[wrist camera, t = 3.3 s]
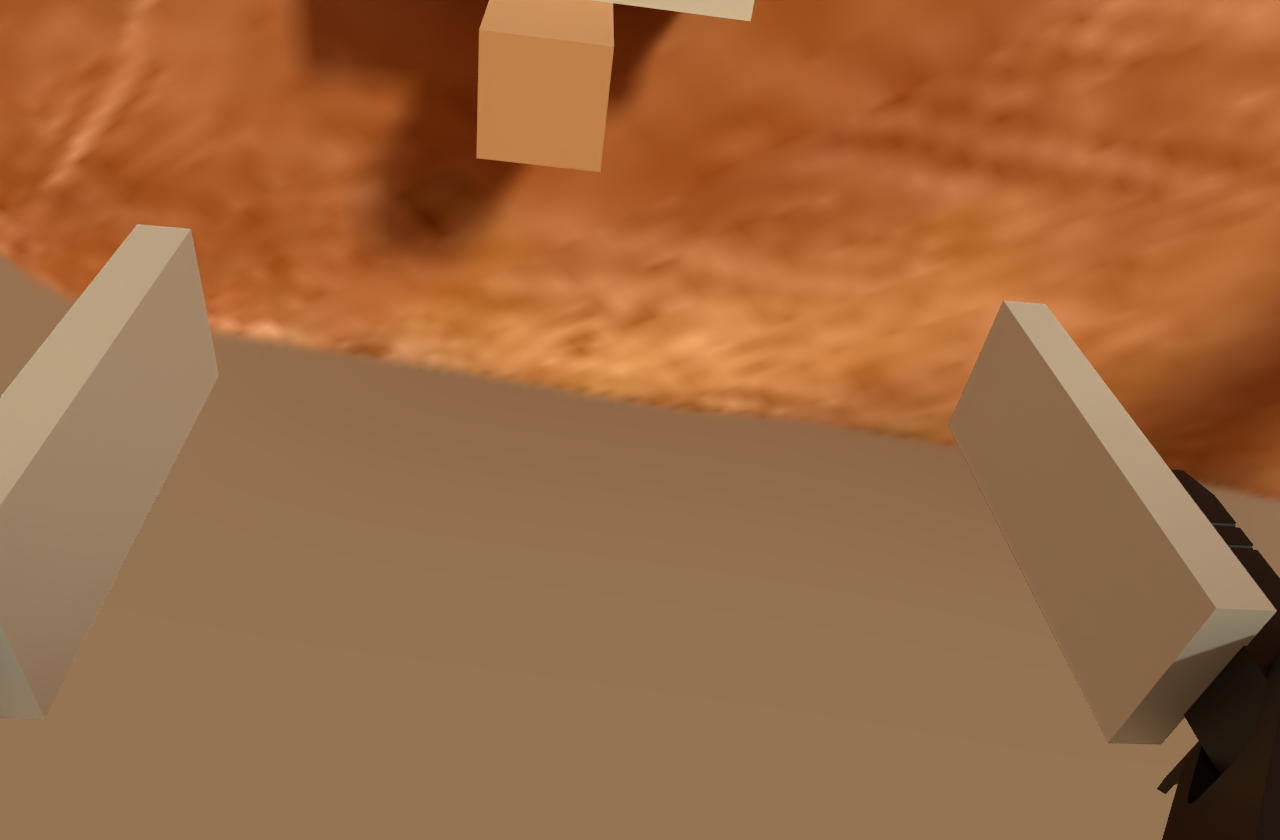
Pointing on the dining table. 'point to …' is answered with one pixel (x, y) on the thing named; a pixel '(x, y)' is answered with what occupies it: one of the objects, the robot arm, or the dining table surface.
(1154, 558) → the robot arm
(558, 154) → the lid
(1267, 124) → the dining table surface
